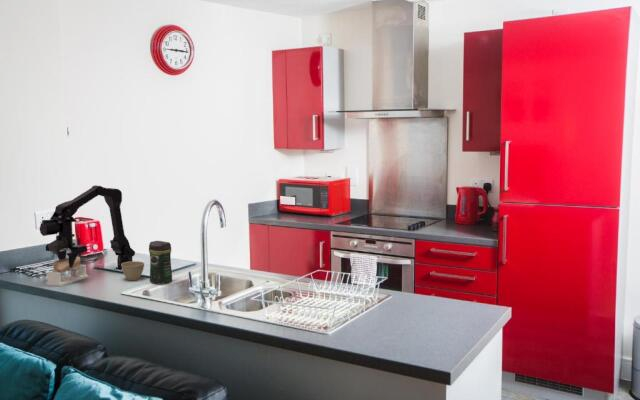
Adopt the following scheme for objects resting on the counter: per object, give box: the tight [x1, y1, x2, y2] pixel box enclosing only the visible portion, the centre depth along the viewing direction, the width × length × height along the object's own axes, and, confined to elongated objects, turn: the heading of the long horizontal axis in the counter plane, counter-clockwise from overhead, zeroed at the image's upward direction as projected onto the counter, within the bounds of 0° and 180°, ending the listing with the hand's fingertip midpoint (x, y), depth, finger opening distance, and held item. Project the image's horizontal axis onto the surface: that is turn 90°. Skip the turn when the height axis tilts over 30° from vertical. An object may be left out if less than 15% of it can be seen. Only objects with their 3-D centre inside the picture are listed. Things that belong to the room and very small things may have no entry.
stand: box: [45, 264, 89, 287], centre depth 271 cm, size 8×17×6 cm, turn 159°
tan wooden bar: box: [52, 256, 82, 274], centre depth 271 cm, size 4×12×4 cm, turn 159°
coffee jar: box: [148, 240, 173, 285], centre depth 268 cm, size 10×8×19 cm
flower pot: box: [121, 260, 145, 281], centre depth 274 cm, size 10×10×7 cm
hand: (67, 266), depth 271 cm, fingers closed on tan wooden bar, 4 cm apart
